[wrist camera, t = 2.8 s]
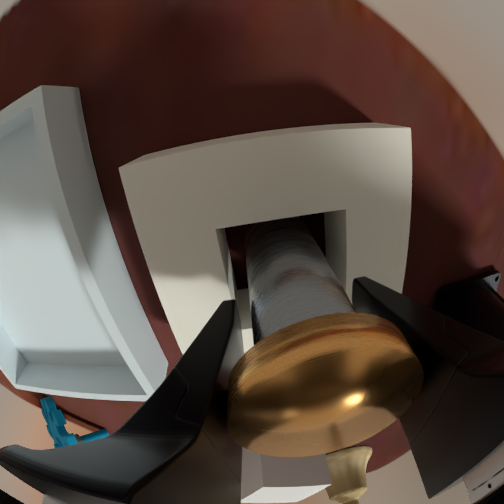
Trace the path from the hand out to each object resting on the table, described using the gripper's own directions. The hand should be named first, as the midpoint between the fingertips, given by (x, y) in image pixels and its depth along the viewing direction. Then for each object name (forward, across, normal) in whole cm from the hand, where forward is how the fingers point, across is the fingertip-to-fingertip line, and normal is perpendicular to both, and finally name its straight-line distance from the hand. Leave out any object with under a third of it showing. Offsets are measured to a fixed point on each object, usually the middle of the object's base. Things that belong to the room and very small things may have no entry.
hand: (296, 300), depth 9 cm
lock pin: (+4, 0, 0) cm, 4 cm away
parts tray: (+4, +14, -1) cm, 15 cm away
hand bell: (+5, -5, +30) cm, 31 cm away
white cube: (+5, +2, +20) cm, 21 cm away
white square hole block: (+4, 0, 0) cm, 4 cm away
